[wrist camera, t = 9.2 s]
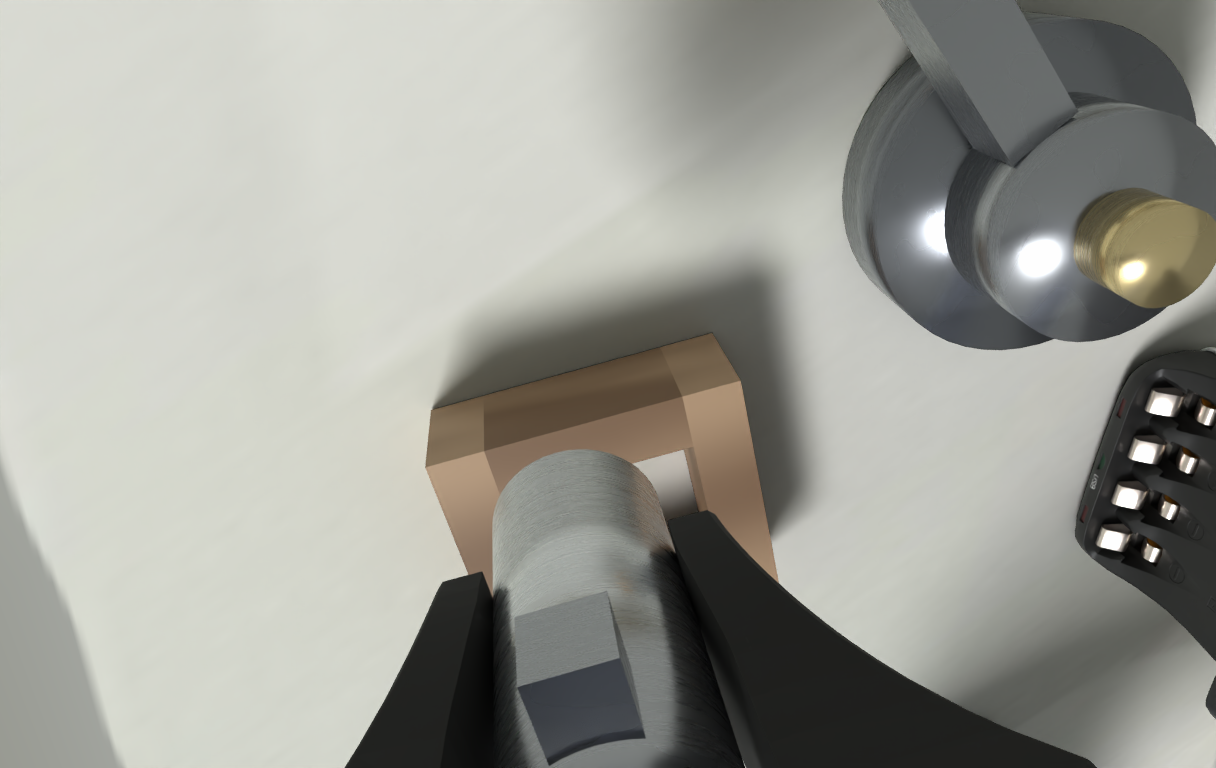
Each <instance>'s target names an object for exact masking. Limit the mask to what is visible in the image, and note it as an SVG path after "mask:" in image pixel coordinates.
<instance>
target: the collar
mask: <svg viewBox="0 0 1216 768" xmlns="http://www.w3.org/2000/svg"><path fill="white" fill-rule="evenodd" d="M878 2H879V3H880V5H881V6H882V8H883V9H884V11H885V12H886V14H887V16H888V17H889V19H890V20H891V22H892V23H893V25H894V26H895V28H896V29H897V31H898V33H899V34H900V36H901V37H902V39H903V40H904V42H905V43H906V45H907V46H908V48H909V50H910V51H911V53H912V54H913V56H914V57H915V59H916V60H917V62H918V64H919V65H920V67H921V68H922V70H923V71H924V73H925V74H926V76H927V77H928V79H929V81H930V82H931V84H932V85H933V87H934V88H935V90H936V91H937V93H938V94H939V96H940V98H941V99H942V101H943V102H944V104H945V105H946V107H947V108H948V110H949V111H950V113H951V115H952V116H953V118H954V119H955V121H956V122H957V124H958V125H959V127H960V128H961V130H962V132H963V133H964V135H965V136H966V138H967V139H968V141H969V142H970V144H971V145H972V148H971V149H970V151H969V152H968V154H967V155H966V156H965V158H964V160H963V161H962V163H961V165H960V167H959V169H958V170H957V173H956V175H955V177H954V180H953V182H952V184H951V187H950V191H949V194H948V197H947V202H946V208H945V215H944V232H945V241H946V245H947V250H948V253H949V255H950V258H951V260H952V263H953V264H954V266H955V268H956V269H957V271H958V272H959V274H960V275H961V276H962V277H963V278H964V280H965V281H966V282H968V283H969V284H970V285H971V286H972V287H974V288H975V289H976V290H978V291H979V292H981V293H982V294H983V295H985V296H986V297H988V298H989V299H991V300H992V301H993V302H995V303H996V304H998V305H999V306H1001V307H1002V308H1003V309H1005V310H1006V311H1008V312H1009V313H1011V314H1012V315H1013V316H1015V317H1016V318H1018V319H1019V320H1021V321H1022V322H1023V323H1025V324H1026V325H1028V326H1029V327H1031V328H1032V329H1034V330H1036V331H1037V332H1039V333H1041V334H1043V335H1046V336H1048V337H1051V338H1054V339H1058V340H1063V341H1072V342H1086V341H1095V340H1101V339H1106V338H1109V337H1113V336H1116V335H1119V334H1122V333H1124V332H1127V331H1129V330H1131V329H1134V328H1136V327H1137V326H1139V325H1141V324H1143V323H1145V322H1147V321H1148V320H1150V319H1151V318H1153V317H1154V316H1156V315H1157V314H1159V313H1160V312H1161V311H1163V310H1164V309H1165V308H1166V307H1168V306H1166V307H1161V308H1145V307H1141V306H1138V305H1136V304H1134V303H1132V302H1130V301H1129V300H1127V299H1125V298H1123V297H1121V296H1120V295H1118V294H1116V293H1114V292H1112V291H1110V290H1109V289H1107V288H1105V287H1103V286H1101V285H1100V284H1098V283H1096V282H1094V281H1092V280H1091V279H1089V278H1087V277H1086V276H1084V275H1083V274H1082V273H1081V271H1080V270H1079V269H1078V267H1077V265H1076V262H1075V259H1074V250H1073V249H1074V241H1075V236H1076V233H1077V230H1078V228H1079V226H1080V224H1081V222H1082V221H1083V219H1084V218H1085V216H1086V215H1087V213H1088V212H1089V211H1090V210H1091V209H1092V208H1093V207H1094V206H1095V205H1096V204H1097V203H1098V202H1099V201H1101V200H1102V199H1103V198H1105V197H1107V196H1108V195H1110V194H1112V193H1114V192H1116V191H1119V190H1122V189H1127V188H1143V189H1147V190H1149V191H1152V192H1155V193H1158V194H1160V195H1163V196H1166V197H1168V198H1171V199H1174V200H1176V201H1179V202H1182V203H1184V204H1187V205H1190V206H1193V207H1195V208H1198V209H1200V210H1203V211H1205V212H1206V213H1208V214H1209V215H1210V216H1211V217H1212V218H1213V219H1214V220H1215V222H1216V146H1215V144H1214V142H1213V141H1212V140H1211V138H1210V137H1209V136H1208V135H1207V134H1206V133H1205V132H1204V131H1203V130H1202V129H1201V128H1199V127H1198V126H1197V125H1195V124H1194V123H1193V122H1191V121H1189V120H1187V119H1185V118H1183V117H1180V116H1177V115H1174V114H1171V113H1167V112H1163V111H1159V110H1155V109H1151V108H1147V107H1143V106H1139V105H1135V104H1131V103H1127V102H1123V101H1119V100H1115V99H1111V98H1107V97H1103V96H1099V95H1095V94H1091V93H1083V92H1067V91H1066V89H1065V87H1064V86H1063V84H1062V82H1061V80H1060V79H1059V77H1058V75H1057V73H1056V72H1055V70H1054V68H1053V66H1052V65H1051V63H1050V61H1049V59H1048V57H1047V56H1046V54H1045V52H1044V50H1043V49H1042V47H1041V45H1040V43H1039V42H1038V40H1037V38H1036V36H1035V35H1034V33H1033V31H1032V29H1031V28H1030V26H1029V24H1028V22H1027V20H1026V19H1025V17H1024V15H1023V13H1022V12H1021V10H1020V8H1019V6H1018V5H1017V3H1016V1H1015V0H878Z"/></svg>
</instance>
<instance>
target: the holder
mask: <svg viewBox="0 0 1216 768" xmlns="http://www.w3.org/2000/svg"><path fill="white" fill-rule="evenodd" d="M576 449H589V450H597V451H602V452H606V453H610V454H613V455H616V456H618V457H621V458H623V459H624V460H626V461H628V462H630V463H631V464H632V463H636V462H639V461H643V460H647V459H650V458H654V457H658V456H661V455H665V454H668V453H672V452H676V451H679V450H683V449H684V452H685V456H686V460H687V465H688V469H689V473H690V477H691V482H692V486H693V490H694V495H695V499H696V503H697V507H698V512H701V511H705V510H708V511H710V512H712V513H714V514H716V516H717V517H718V519H719V520H720V521H721V523H722V524H723V525H724V527H725V528H726V529H727V530H728V532H729V533H730V534H731V535H732V536H733V538H734V539H735V540H736V541H737V542H738V543H739V544H740V545H741V546H742V548H743V549H744V550H745V551H746V552H747V553H748V554H749V555H750V556H751V557H752V558H753V559H754V560H755V561H756V562H757V563H758V564H759V565H760V566H761V567H762V568H763V569H764V570H765V571H766V572H767V573H768V574H769V575H770V576H771V577H773V578H774V579H775V580H776V581H777V582H778V583H779V581H778V576H777V571H776V565H775V560H774V555H773V549H772V544H771V539H770V533H769V528H768V523H767V517H766V512H765V507H764V502H763V496H762V491H761V486H760V480H759V475H758V470H757V464H756V459H755V454H754V449H753V443H752V438H751V433H750V427H749V422H748V417H747V411H746V406H745V401H744V396H743V390H742V385H741V380H740V379H739V377H738V375H737V374H736V372H735V370H734V369H733V367H732V365H731V364H730V362H729V360H728V359H727V357H726V355H725V353H724V352H723V350H722V348H721V347H720V345H719V343H718V342H717V340H716V338H715V337H714V335H713V333H710V334H706V335H703V336H699V337H695V338H692V339H688V340H685V341H681V342H677V343H674V344H670V345H666V346H663V347H659V348H655V349H652V350H648V351H645V352H641V353H637V354H634V355H630V356H626V357H623V358H619V359H615V360H612V361H608V362H604V363H601V364H597V365H594V366H590V367H586V368H583V369H579V370H575V371H572V372H568V373H564V374H561V375H557V376H554V377H550V378H546V379H543V380H539V381H535V382H532V383H528V384H524V385H521V386H517V387H514V388H510V389H506V390H503V391H499V392H495V393H492V394H488V395H484V396H481V397H477V398H474V399H470V400H466V401H463V402H459V403H455V404H452V405H448V406H444V407H441V408H437V409H434V410H431V417H430V427H429V436H428V446H427V456H426V466H425V468H426V470H427V473H428V475H429V478H430V480H431V483H432V485H433V488H434V490H435V493H436V495H437V498H438V500H439V502H440V505H441V507H442V510H443V512H444V515H445V517H446V520H447V522H448V525H449V527H450V530H451V532H452V535H453V537H454V540H455V542H456V545H457V547H458V550H459V552H460V555H461V557H462V560H463V562H464V564H465V567H466V569H467V572H468V574H469V575H470V574H474V573H478V572H481V571H482V572H483V574H484V577H485V579H486V582H487V584H488V587H489V590H490V592H491V595H492V597H493V546H492V524H493V514H494V509H495V506H496V503H497V500H498V498H499V496H500V495H501V493H502V491H503V489H504V488H505V487H506V485H507V484H508V482H509V481H510V480H511V479H512V478H513V477H514V476H515V475H516V474H517V473H518V472H520V471H521V470H522V469H523V468H525V467H526V466H528V465H529V464H531V463H532V462H534V461H536V460H538V459H540V458H542V457H545V456H548V455H551V454H553V453H557V452H562V451H566V450H576ZM672 543H673V541H672ZM673 546H674V545H673Z"/></svg>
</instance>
